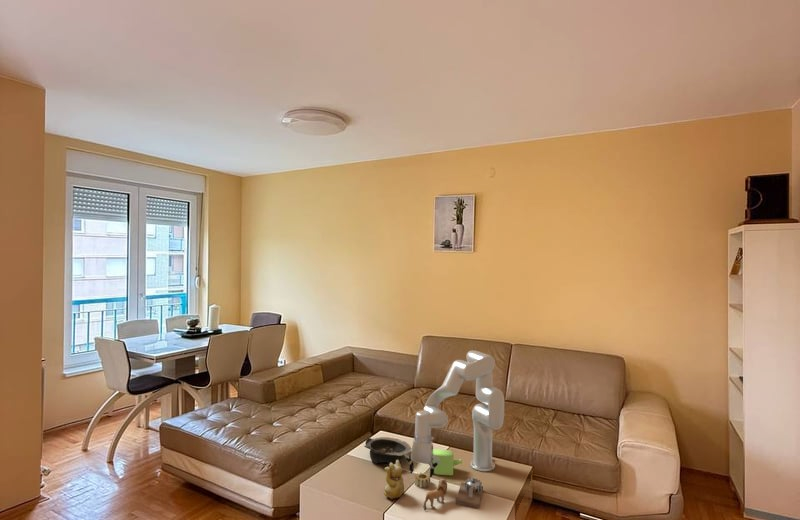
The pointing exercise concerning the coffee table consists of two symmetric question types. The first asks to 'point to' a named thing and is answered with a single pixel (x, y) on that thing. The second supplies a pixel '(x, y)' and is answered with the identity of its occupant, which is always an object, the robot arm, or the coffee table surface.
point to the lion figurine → (436, 493)
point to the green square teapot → (445, 462)
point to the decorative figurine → (394, 481)
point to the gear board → (468, 497)
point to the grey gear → (473, 485)
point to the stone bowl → (387, 449)
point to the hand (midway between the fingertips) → (421, 474)
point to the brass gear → (422, 480)
